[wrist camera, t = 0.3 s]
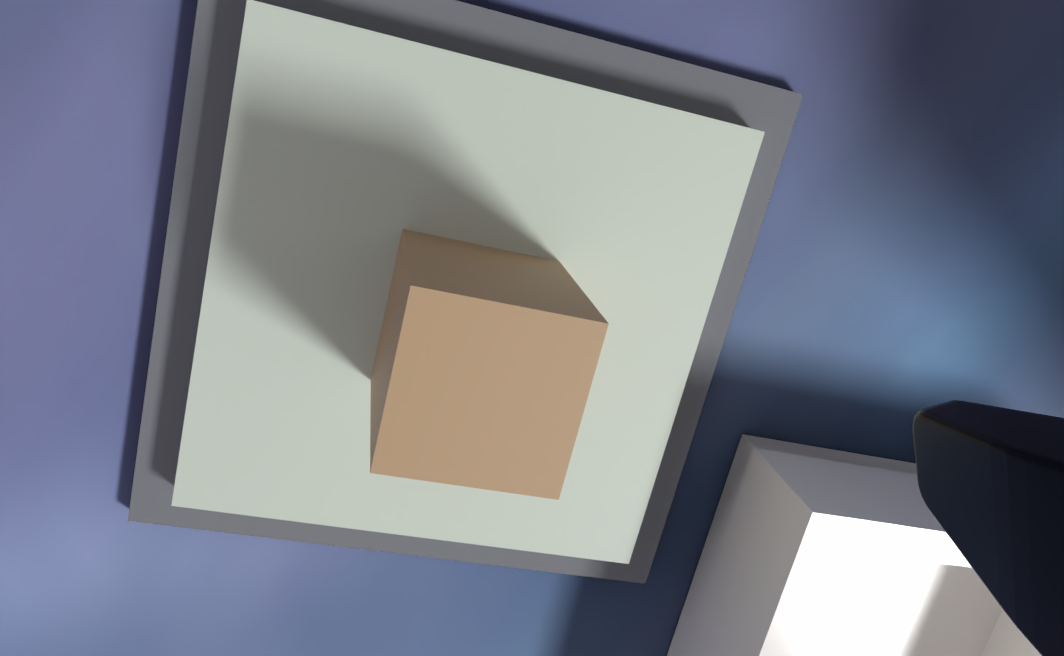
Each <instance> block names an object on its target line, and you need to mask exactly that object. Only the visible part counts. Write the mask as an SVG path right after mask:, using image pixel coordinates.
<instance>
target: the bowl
mask: <svg viewBox="0 0 1064 656" xmlns="http://www.w3.org/2000/svg"><path fill="white" fill-rule="evenodd" d="M667 656H1042V655H1041V654H1040V653H1039V652H1038V651H1037V650H1036V648H1035V647H1034V646H1033V645H1032V644H1031V643H1030V642H1029V640H1028V639H1027V638H1026V637H1025V636H1024V635H1023V634H1022V632H1021V631H1020V630H1019V629H1018V628H1017V627H1016V626H1015V624H1014V623H1013V622H1012V620H1011V619H1010V618H1009V617H1008V615H1007V614H1006V613H1005V612H1004V610H1003V609H1002V608H1001V606H1000V605H999V604H998V602H997V601H996V600H995V598H994V597H993V596H992V594H991V593H990V591H989V590H988V589H987V587H986V586H985V585H984V583H983V582H982V581H981V579H980V578H979V577H978V575H977V574H976V572H975V571H974V570H973V568H972V567H971V566H970V564H969V563H968V562H967V560H966V559H965V558H964V556H963V555H962V553H961V552H960V551H959V549H958V548H957V547H956V545H955V544H954V543H953V541H952V540H951V539H950V537H949V536H948V534H947V533H946V532H945V530H944V529H943V528H942V526H941V525H940V524H939V522H938V521H937V520H936V518H935V517H934V515H933V514H932V513H931V511H930V510H929V509H928V507H927V506H926V504H925V502H924V500H923V498H922V495H921V493H920V490H919V486H918V480H917V470H916V463H910V462H904V461H898V460H892V459H886V458H881V457H875V456H869V455H863V454H857V453H851V452H845V451H839V450H833V449H827V448H821V447H815V446H809V445H804V444H798V443H792V442H786V441H780V440H774V439H768V438H762V437H756V436H750V435H744V434H742V436H741V439H740V442H739V445H738V448H737V451H736V453H735V456H734V459H733V462H732V465H731V468H730V471H729V474H728V477H727V480H726V483H725V486H724V489H723V492H722V495H721V498H720V501H719V504H718V506H717V509H716V512H715V515H714V518H713V521H712V524H711V527H710V530H709V533H708V536H707V539H706V542H705V545H704V548H703V551H702V554H701V557H700V559H699V562H698V565H697V568H696V571H695V574H694V577H693V580H692V583H691V586H690V589H689V592H688V595H687V598H686V601H685V604H684V607H683V610H682V612H681V615H680V618H679V621H678V624H677V627H676V630H675V633H674V636H673V639H672V642H671V645H670V648H669V651H668V654H667Z"/></svg>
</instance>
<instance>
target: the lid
mask: <svg viewBox="0 0 1064 656" xmlns="http://www.w3.org/2000/svg"><path fill="white" fill-rule="evenodd" d="M764 133H765V132H763V131H759V130H756V129H752V128H748V127H744V126H740V125H736V124H733V123H729V122H725V121H721V120H717V119H713V118H709V117H705V116H702V115H698V114H694V113H690V112H686V111H682V110H678V109H674V108H670V107H667V106H663V105H659V104H655V103H651V102H647V101H643V100H639V99H636V98H632V97H628V96H624V95H620V94H616V93H612V92H608V91H604V90H601V89H597V88H593V87H589V86H585V85H581V84H577V83H573V82H569V81H566V80H562V79H558V78H554V77H550V76H546V75H542V74H538V73H535V72H531V71H527V70H523V69H519V68H515V67H511V66H507V65H503V64H500V63H496V62H492V61H488V60H484V59H480V58H476V57H472V56H468V55H465V54H461V53H457V52H453V51H449V50H445V49H441V48H437V47H434V46H430V45H426V44H422V43H418V42H414V41H410V40H406V39H402V38H399V37H395V36H391V35H387V34H383V33H379V32H375V31H371V30H368V29H364V28H360V27H356V26H352V25H348V24H344V23H340V22H336V21H333V20H329V19H325V18H321V17H317V16H313V15H309V14H305V13H301V12H298V11H294V10H290V9H286V8H282V7H278V6H274V5H270V4H267V3H263V2H259V1H255V0H247V2H246V9H245V16H244V22H243V29H242V36H241V42H240V49H239V56H238V63H237V69H236V76H235V83H234V89H233V96H232V103H231V109H230V116H229V123H228V130H227V136H226V143H225V150H224V156H223V163H222V170H221V176H220V183H219V190H218V197H217V203H216V210H215V217H214V223H213V230H212V237H211V243H210V250H209V257H208V264H207V270H206V277H205V284H204V290H203V297H202V304H201V310H200V317H199V324H198V331H197V337H196V344H195V351H194V357H193V364H192V371H191V377H190V384H189V391H188V398H187V404H186V411H185V418H184V424H183V431H182V438H181V444H180V451H179V458H178V465H177V471H176V478H175V485H174V491H173V498H172V505H171V506H177V507H185V508H192V509H200V510H208V511H216V512H224V513H232V514H240V515H247V516H255V517H263V518H271V519H279V520H287V521H295V522H302V523H310V524H318V525H326V526H334V527H342V528H350V529H357V530H365V531H373V532H381V533H389V534H397V535H405V536H412V537H420V538H428V539H436V540H444V541H452V542H460V543H467V544H475V545H483V546H491V547H499V548H507V549H515V550H522V551H530V552H538V553H546V554H554V555H562V556H570V557H577V558H585V559H593V560H601V561H609V562H617V563H625V564H629V562H630V559H631V555H632V552H633V549H634V546H635V543H636V540H637V536H638V533H639V530H640V527H641V524H642V521H643V517H644V514H645V511H646V508H647V505H648V501H649V498H650V495H651V492H652V489H653V486H654V482H655V479H656V476H657V473H658V470H659V467H660V463H661V460H662V457H663V454H664V451H665V448H666V444H667V441H668V438H669V435H670V432H671V428H672V425H673V422H674V419H675V416H676V413H677V409H678V406H679V403H680V400H681V397H682V394H683V390H684V387H685V384H686V381H687V378H688V375H689V371H690V368H691V365H692V362H693V359H694V355H695V352H696V349H697V346H698V343H699V340H700V336H701V333H702V330H703V327H704V324H705V321H706V317H707V314H708V311H709V308H710V305H711V301H712V298H713V295H714V292H715V289H716V286H717V282H718V279H719V276H720V273H721V270H722V267H723V263H724V260H725V257H726V254H727V251H728V248H729V244H730V241H731V238H732V235H733V232H734V228H735V225H736V222H737V219H738V216H739V213H740V209H741V206H742V203H743V200H744V197H745V194H746V190H747V187H748V184H749V181H750V178H751V175H752V171H753V168H754V165H755V162H756V159H757V155H758V152H759V149H760V146H761V143H762V140H763V136H764Z"/></svg>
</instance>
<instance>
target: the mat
mask: <svg viewBox="0 0 1064 656" xmlns="http://www.w3.org/2000/svg"><path fill="white" fill-rule="evenodd" d="M255 1H259V2H263V3H267V4H270V5H274V6H278V7H282V8H286V9H290V10H294V11H298V12H301V13H305V14H309V15H313V16H317V17H321V18H325V19H329V20H333V21H336V22H340V23H344V24H348V25H352V26H356V27H360V28H364V29H368V30H371V31H375V32H379V33H383V34H387V35H391V36H395V37H399V38H402V39H406V40H410V41H414V42H418V43H422V44H426V45H430V46H434V47H437V48H441V49H445V50H449V51H453V52H457V53H461V54H465V55H468V56H472V57H476V58H480V59H484V60H488V61H492V62H496V63H500V64H503V65H507V66H511V67H515V68H519V69H523V70H527V71H531V72H535V73H538V74H542V75H546V76H550V77H554V78H558V79H562V80H566V81H569V82H573V83H577V84H581V85H585V86H589V87H593V88H597V89H601V90H604V91H608V92H612V93H616V94H620V95H624V96H628V97H632V98H636V99H639V100H643V101H647V102H651V103H655V104H659V105H663V106H667V107H670V108H674V109H678V110H682V111H686V112H690V113H694V114H698V115H702V116H705V117H709V118H713V119H717V120H721V121H725V122H729V123H733V124H736V125H740V126H744V127H748V128H752V129H756V130H759V131H763V132H765V133H764V136H763V140H762V143H761V146H760V149H759V152H758V155H757V159H756V162H755V165H754V168H753V171H752V175H751V178H750V181H749V184H748V187H747V190H746V194H745V197H744V200H743V203H742V206H741V209H740V213H739V216H738V219H737V222H736V225H735V228H734V232H733V235H732V238H731V241H730V244H729V248H728V251H727V254H726V257H725V260H724V263H723V267H722V270H721V273H720V276H719V279H718V282H717V286H716V289H715V292H714V295H713V298H712V301H711V305H710V308H709V311H708V314H707V317H706V321H705V324H704V327H703V330H702V333H701V336H700V340H699V343H698V346H697V349H696V352H695V355H694V359H693V362H692V365H691V368H690V371H689V375H688V378H687V381H686V384H685V387H684V390H683V394H682V397H681V400H680V403H679V406H678V409H677V413H676V416H675V419H674V422H673V425H672V428H671V432H670V435H669V438H668V441H667V444H666V448H665V451H664V454H663V457H662V460H661V463H660V467H659V470H658V473H657V476H656V479H655V482H654V486H653V489H652V492H651V495H650V498H649V501H648V505H647V508H646V511H645V514H644V517H643V521H642V524H641V527H640V530H639V533H638V536H637V540H636V543H635V546H634V549H633V552H632V555H631V559H630V562H629V564H625V563H617V562H609V561H601V560H593V559H585V558H577V557H570V556H562V555H554V554H546V553H538V552H530V551H522V550H515V549H507V548H499V547H491V546H483V545H475V544H467V543H460V542H452V541H444V540H436V539H428V538H420V537H412V536H405V535H397V534H389V533H381V532H373V531H365V530H357V529H350V528H342V527H334V526H326V525H318V524H310V523H302V522H295V521H287V520H279V519H271V518H263V517H255V516H247V515H240V514H232V513H224V512H216V511H208V510H200V509H192V508H185V507H177V506H171V505H172V498H173V491H174V485H175V478H176V471H177V465H178V458H179V451H180V444H181V438H182V431H183V424H184V418H185V411H186V404H187V398H188V391H189V384H190V377H191V371H192V364H193V357H194V351H195V344H196V337H197V331H198V324H199V317H200V310H201V304H202V297H203V290H204V284H205V277H206V270H207V264H208V257H209V250H210V243H211V237H212V230H213V223H214V217H215V210H216V203H217V197H218V190H219V183H220V176H221V170H222V163H223V156H224V150H225V143H226V136H227V130H228V123H229V116H230V109H231V103H232V96H233V89H234V83H235V76H236V69H237V63H238V56H239V49H240V42H241V36H242V29H243V22H244V16H245V9H246V2H247V0H198V4H197V11H196V19H195V26H194V33H193V41H192V48H191V56H190V63H189V71H188V78H187V85H186V93H185V100H184V108H183V115H182V122H181V130H180V137H179V145H178V152H177V160H176V167H175V174H174V182H173V189H172V197H171V204H170V212H169V219H168V226H167V234H166V241H165V249H164V256H163V263H162V271H161V278H160V286H159V293H158V301H157V308H156V315H155V323H154V330H153V338H152V345H151V352H150V360H149V367H148V375H147V382H146V390H145V397H144V404H143V412H142V419H141V427H140V434H139V441H138V449H137V456H136V464H135V471H134V479H133V486H132V493H131V501H130V508H129V516H128V521H136V522H144V523H152V524H161V525H169V526H177V527H185V528H193V529H201V530H210V531H218V532H226V533H234V534H242V535H251V536H259V537H267V538H275V539H283V540H291V541H300V542H308V543H316V544H324V545H332V546H340V547H349V548H357V549H365V550H373V551H381V552H389V553H398V554H406V555H414V556H422V557H430V558H439V559H447V560H455V561H463V562H471V563H479V564H488V565H496V566H504V567H512V568H520V569H528V570H537V571H545V572H553V573H561V574H569V575H577V576H586V577H594V578H602V579H610V580H618V581H627V582H635V583H643V584H646V581H647V578H648V575H649V572H650V568H651V565H652V562H653V559H654V556H655V553H656V550H657V547H658V544H659V541H660V538H661V534H662V531H663V528H664V525H665V522H666V519H667V516H668V513H669V510H670V507H671V504H672V500H673V497H674V494H675V491H676V488H677V485H678V482H679V479H680V476H681V473H682V469H683V466H684V463H685V460H686V457H687V454H688V451H689V448H690V445H691V442H692V439H693V435H694V432H695V429H696V426H697V423H698V420H699V417H700V414H701V411H702V408H703V405H704V401H705V398H706V395H707V392H708V389H709V386H710V383H711V380H712V377H713V374H714V370H715V367H716V364H717V361H718V358H719V355H720V352H721V349H722V346H723V343H724V340H725V336H726V333H727V330H728V327H729V324H730V321H731V318H732V315H733V312H734V309H735V306H736V302H737V299H738V296H739V293H740V290H741V287H742V284H743V281H744V278H745V275H746V271H747V268H748V265H749V262H750V259H751V256H752V253H753V250H754V247H755V244H756V241H757V237H758V234H759V231H760V228H761V225H762V222H763V219H764V216H765V213H766V210H767V207H768V203H769V200H770V197H771V194H772V191H773V188H774V185H775V182H776V179H777V176H778V172H779V169H780V166H781V163H782V160H783V157H784V154H785V151H786V148H787V145H788V142H789V138H790V135H791V132H792V129H793V126H794V123H795V120H796V117H797V114H798V111H799V108H800V104H801V101H802V98H803V95H804V94H800V93H796V92H793V91H789V90H785V89H781V88H778V87H774V86H770V85H767V84H763V83H759V82H756V81H752V80H748V79H745V78H741V77H737V76H734V75H730V74H726V73H723V72H719V71H715V70H711V69H708V68H704V67H700V66H697V65H693V64H689V63H686V62H682V61H678V60H675V59H671V58H667V57H664V56H660V55H656V54H652V53H649V52H645V51H641V50H638V49H634V48H630V47H627V46H623V45H619V44H616V43H612V42H608V41H605V40H601V39H597V38H594V37H590V36H586V35H582V34H579V33H575V32H571V31H568V30H564V29H560V28H557V27H553V26H549V25H546V24H542V23H538V22H535V21H531V20H527V19H523V18H520V17H516V16H512V15H509V14H505V13H501V12H498V11H494V10H490V9H487V8H483V7H479V6H476V5H472V4H468V3H465V2H461V1H457V0H255Z"/></svg>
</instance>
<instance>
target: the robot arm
mask: <svg viewBox="0 0 1064 656" xmlns="http://www.w3.org/2000/svg"><path fill="white" fill-rule="evenodd" d="M913 439H914V449H915V459H916V470H917V480H918V486H919V490H920V493H921V495H922V498H923V500H924V502H925V504H926V506H927V507H928V509H929V510H930V511H931V513H932V514H933V515H934V517H935V518H936V520H937V521H938V522H939V524H940V525H941V526H942V528H943V529H944V530H945V532H946V533H947V534H948V536H949V537H950V539H951V540H952V541H953V543H954V544H955V545H956V547H957V548H958V549H959V551H960V552H961V553H962V555H963V556H964V558H965V559H966V560H967V562H968V563H969V564H970V566H971V567H972V568H973V570H974V571H975V572H976V574H977V575H978V577H979V578H980V579H981V581H982V582H983V583H984V585H985V586H986V587H987V589H988V590H989V591H990V593H991V594H992V596H993V597H994V598H995V600H996V601H997V602H998V604H999V605H1000V606H1001V608H1002V609H1003V610H1004V612H1005V613H1006V614H1007V615H1008V617H1009V618H1010V619H1011V620H1012V622H1013V623H1014V624H1015V626H1016V627H1017V628H1018V629H1019V630H1020V631H1021V632H1022V634H1023V635H1024V636H1025V637H1026V638H1027V639H1028V640H1029V642H1030V643H1031V644H1032V645H1033V646H1034V647H1035V648H1036V650H1037V651H1038V652H1039V653H1040V654H1041V655H1042V656H1064V418H1060V417H1054V416H1048V415H1042V414H1036V413H1030V412H1024V411H1018V410H1013V409H1007V408H1001V407H995V406H989V405H983V404H977V403H971V402H965V401H959V400H954V401H948V402H945V403H941V404H938V405H934V406H931V407H928V408H924V409H922V410H920V411H918V412H917V413H916V415H915V416H914V419H913Z"/></svg>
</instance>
